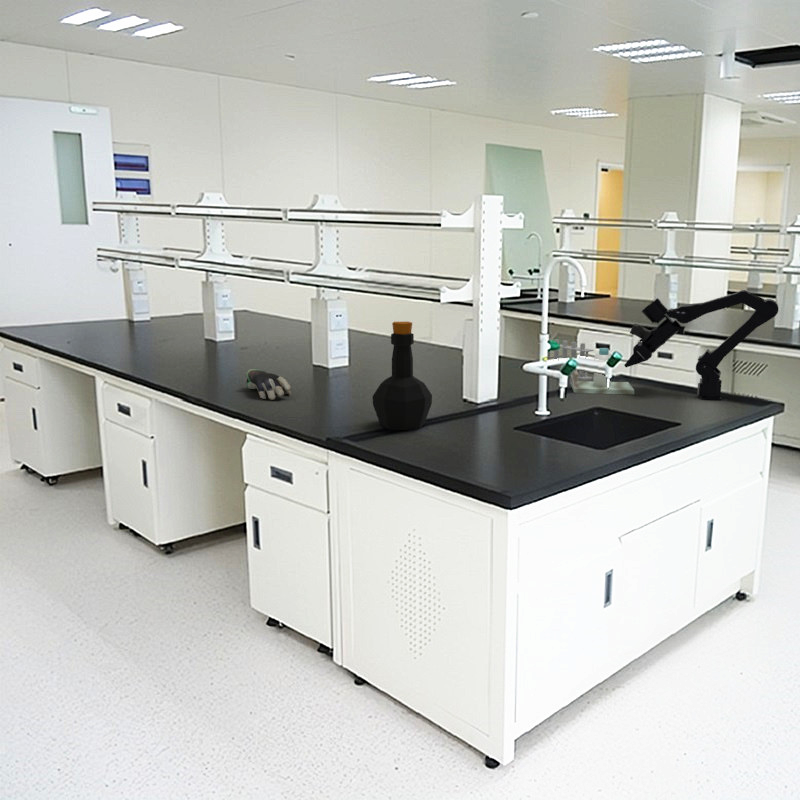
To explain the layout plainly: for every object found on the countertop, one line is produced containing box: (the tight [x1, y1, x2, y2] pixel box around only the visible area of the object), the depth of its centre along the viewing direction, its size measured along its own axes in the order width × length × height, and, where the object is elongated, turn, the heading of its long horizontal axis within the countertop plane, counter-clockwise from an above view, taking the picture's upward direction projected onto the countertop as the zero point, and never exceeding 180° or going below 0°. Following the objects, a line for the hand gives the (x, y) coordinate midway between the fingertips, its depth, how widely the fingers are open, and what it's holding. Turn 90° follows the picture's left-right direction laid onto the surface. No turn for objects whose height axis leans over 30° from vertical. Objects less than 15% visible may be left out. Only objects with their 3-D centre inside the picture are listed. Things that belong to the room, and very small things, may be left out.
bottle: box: [372, 321, 433, 431], centre depth 233 cm, size 16×16×30 cm
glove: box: [246, 368, 292, 401], centre depth 279 cm, size 12×10×25 cm
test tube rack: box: [537, 337, 595, 381], centre depth 314 cm, size 25×4×13 cm, turn 35°
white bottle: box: [592, 347, 612, 387], centre depth 285 cm, size 6×6×13 cm
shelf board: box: [570, 369, 635, 395], centre depth 286 cm, size 20×14×6 cm
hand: (626, 364), depth 282 cm, fingers open, 9 cm apart
